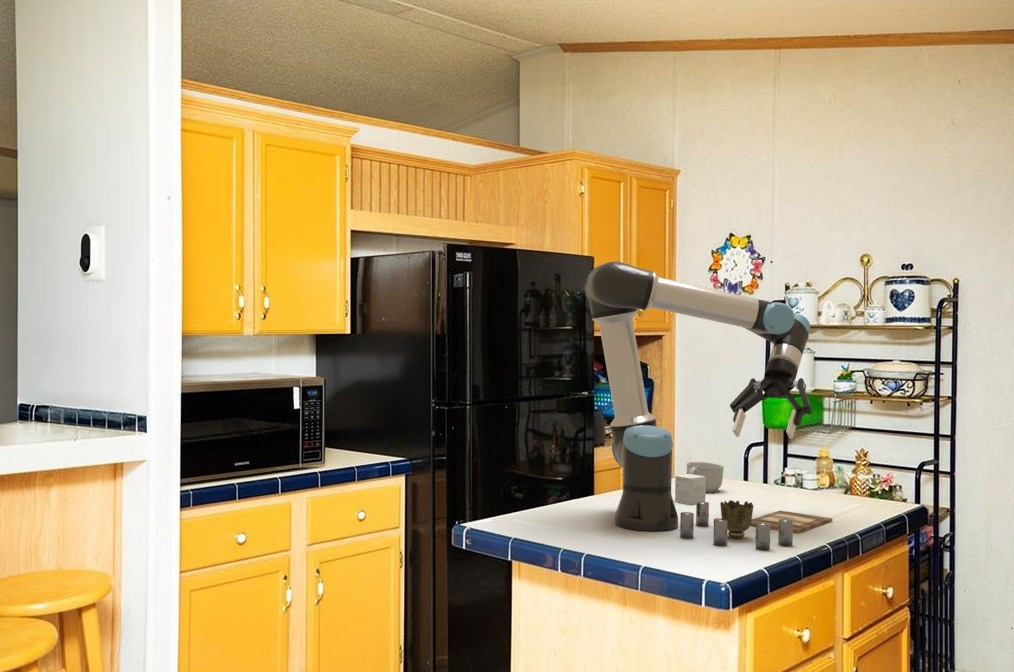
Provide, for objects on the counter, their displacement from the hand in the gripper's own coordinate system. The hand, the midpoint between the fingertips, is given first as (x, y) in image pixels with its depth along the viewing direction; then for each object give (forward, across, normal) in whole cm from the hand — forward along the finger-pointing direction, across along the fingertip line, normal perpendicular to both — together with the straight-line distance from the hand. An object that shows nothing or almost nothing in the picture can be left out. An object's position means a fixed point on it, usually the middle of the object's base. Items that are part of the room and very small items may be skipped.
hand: (761, 434), depth 233 cm
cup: (+26, +1, -5) cm, 27 cm away
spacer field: (+26, +3, -4) cm, 27 cm away
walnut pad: (+10, -2, -23) cm, 25 cm away
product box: (+3, +30, -29) cm, 42 cm away
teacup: (-10, +36, -43) cm, 57 cm away
